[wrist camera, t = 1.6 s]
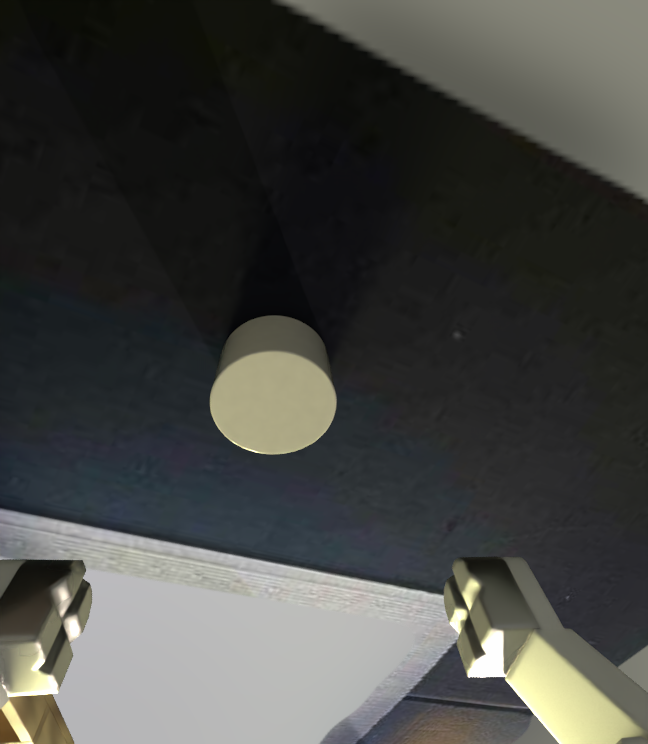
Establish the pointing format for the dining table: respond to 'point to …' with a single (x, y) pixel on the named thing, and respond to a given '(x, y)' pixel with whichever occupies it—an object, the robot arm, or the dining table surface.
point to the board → (33, 721)
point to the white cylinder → (273, 386)
